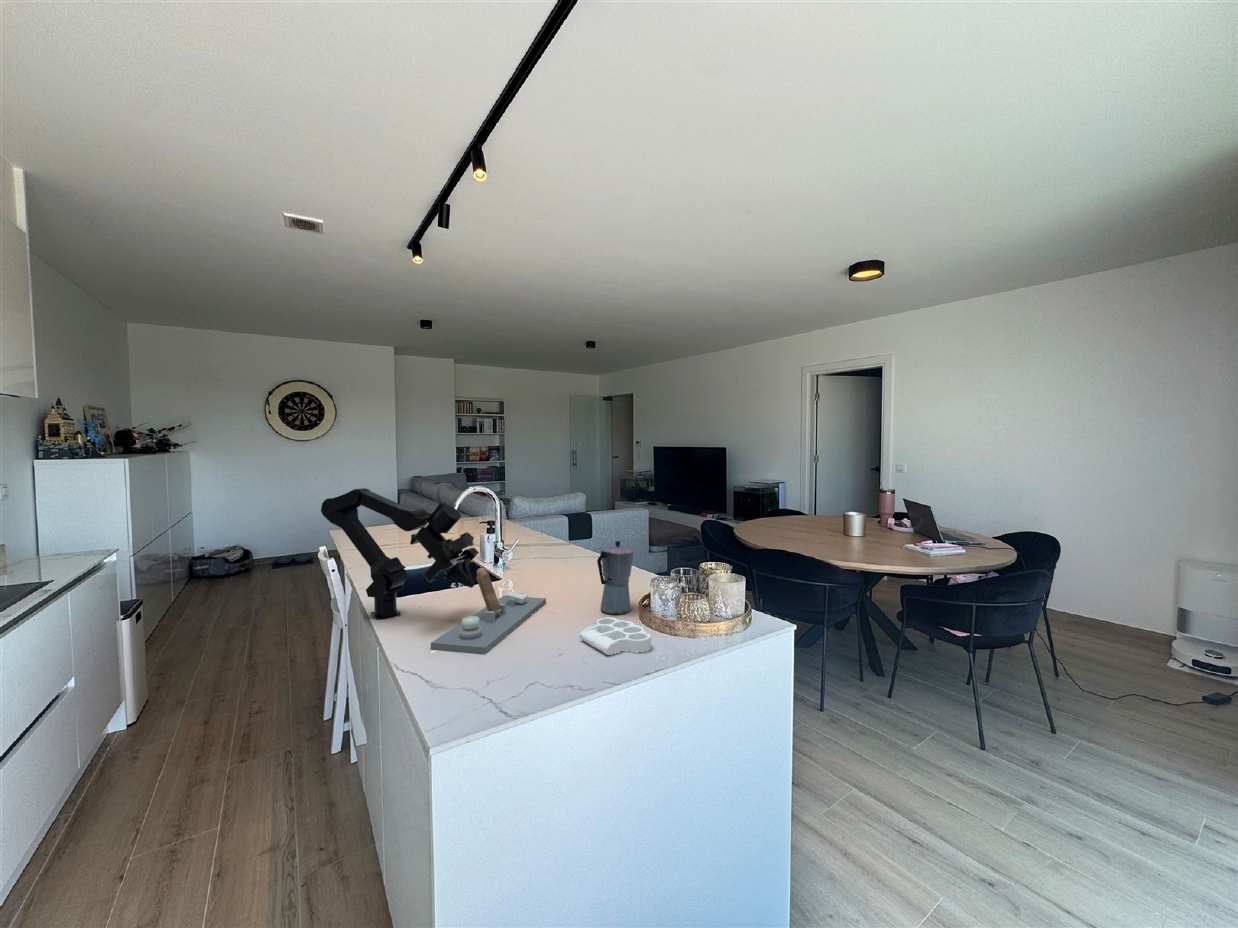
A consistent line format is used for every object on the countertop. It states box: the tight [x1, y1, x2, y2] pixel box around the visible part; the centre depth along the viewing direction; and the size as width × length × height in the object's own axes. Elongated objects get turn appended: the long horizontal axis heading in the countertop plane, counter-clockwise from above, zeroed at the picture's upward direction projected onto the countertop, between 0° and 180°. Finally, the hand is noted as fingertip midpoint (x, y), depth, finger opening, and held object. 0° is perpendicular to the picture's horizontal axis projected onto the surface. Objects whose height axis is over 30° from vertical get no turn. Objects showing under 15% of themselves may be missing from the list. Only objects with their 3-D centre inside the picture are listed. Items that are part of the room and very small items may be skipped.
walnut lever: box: [475, 567, 502, 617], centre depth 133 cm, size 3×4×14 cm, turn 167°
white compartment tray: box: [579, 616, 652, 656], centre depth 120 cm, size 3×18×15 cm
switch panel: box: [430, 592, 547, 655], centre depth 133 cm, size 14×38×4 cm, turn 167°
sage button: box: [461, 615, 479, 629], centre depth 120 cm, size 4×4×2 cm
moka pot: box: [596, 540, 635, 615], centre depth 142 cm, size 10×15×20 cm, turn 148°
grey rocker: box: [504, 590, 529, 604], centre depth 146 cm, size 6×4×1 cm, turn 77°
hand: (473, 586), depth 134 cm, fingers closed
